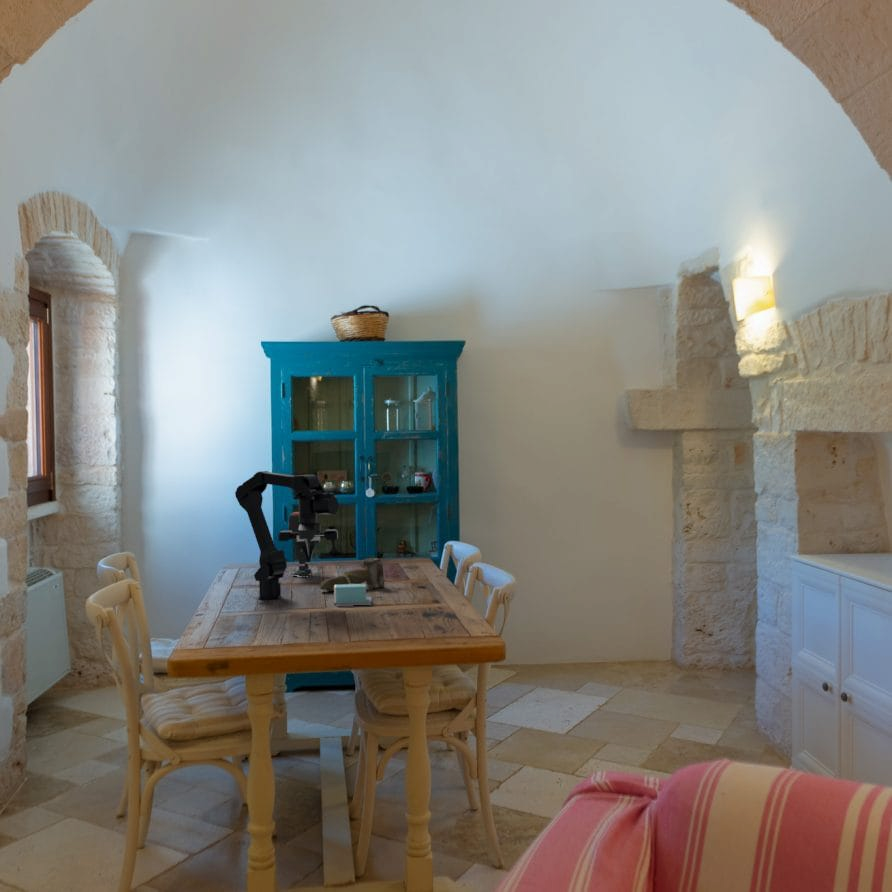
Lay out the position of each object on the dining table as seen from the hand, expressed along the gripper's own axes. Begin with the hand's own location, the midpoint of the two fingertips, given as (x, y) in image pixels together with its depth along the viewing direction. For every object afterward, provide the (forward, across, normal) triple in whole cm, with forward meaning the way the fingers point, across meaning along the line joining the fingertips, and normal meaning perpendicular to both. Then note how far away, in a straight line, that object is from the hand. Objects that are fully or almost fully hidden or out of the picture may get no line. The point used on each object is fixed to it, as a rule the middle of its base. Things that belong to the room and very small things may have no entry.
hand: (309, 561), depth 271 cm
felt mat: (+13, +14, -3) cm, 20 cm away
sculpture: (+13, +13, +19) cm, 27 cm away
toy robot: (+13, -7, +52) cm, 54 cm away
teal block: (+10, +8, -3) cm, 13 cm away
